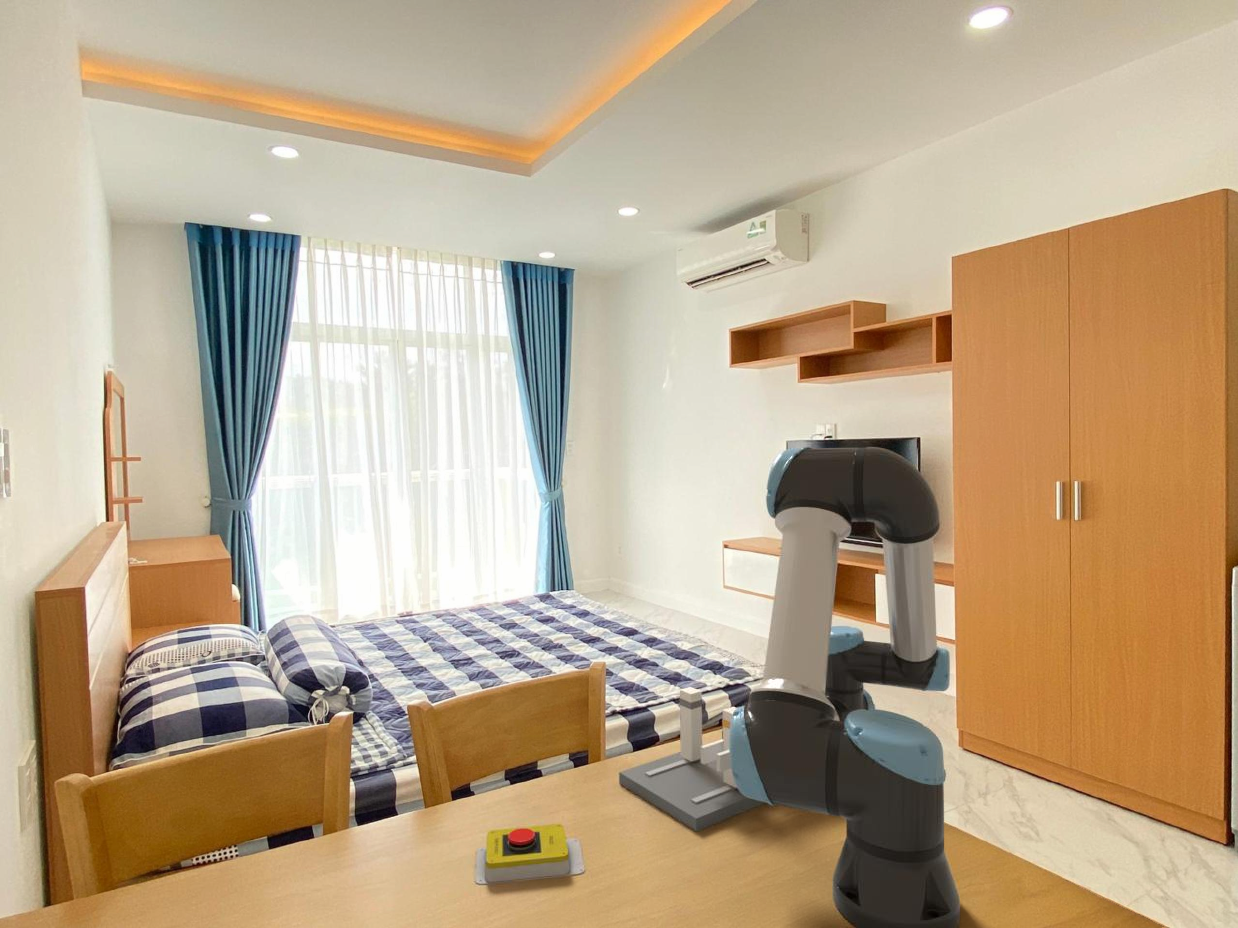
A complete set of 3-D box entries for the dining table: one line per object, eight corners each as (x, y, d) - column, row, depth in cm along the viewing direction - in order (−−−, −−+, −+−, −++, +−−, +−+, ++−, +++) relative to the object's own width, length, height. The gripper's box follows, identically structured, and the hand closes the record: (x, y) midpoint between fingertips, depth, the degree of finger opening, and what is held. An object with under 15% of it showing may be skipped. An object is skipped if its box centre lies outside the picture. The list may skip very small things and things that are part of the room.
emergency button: (476, 822, 110) (578, 812, 113) (476, 851, 111) (579, 841, 113) (473, 857, 101) (585, 845, 103) (474, 889, 101) (585, 877, 104)
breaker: (691, 752, 137) (690, 686, 136) (702, 757, 134) (701, 691, 134) (680, 755, 135) (679, 689, 135) (691, 761, 133) (690, 694, 132)
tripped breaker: (734, 777, 126) (733, 706, 126) (747, 783, 124) (746, 711, 123) (723, 781, 125) (722, 709, 124) (736, 788, 122) (735, 715, 122)
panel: (697, 756, 141) (697, 744, 141) (778, 796, 125) (778, 783, 125) (619, 783, 130) (619, 770, 130) (696, 831, 114) (696, 816, 114)
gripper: (845, 760, 128) (746, 801, 115) (773, 731, 141) (677, 764, 128) (844, 716, 128) (746, 752, 114) (773, 691, 141) (677, 721, 127)
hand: (710, 758), depth 121 cm, fingers closed on tripped breaker, 3 cm apart
